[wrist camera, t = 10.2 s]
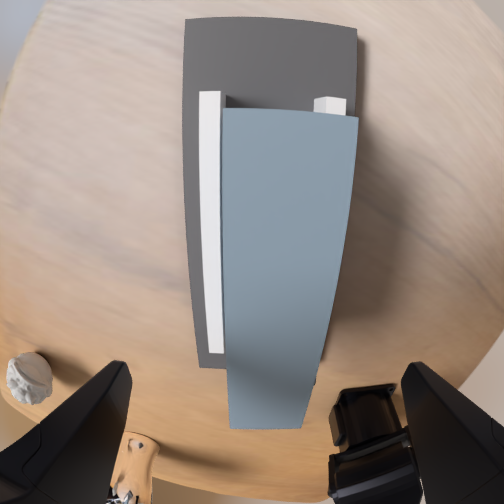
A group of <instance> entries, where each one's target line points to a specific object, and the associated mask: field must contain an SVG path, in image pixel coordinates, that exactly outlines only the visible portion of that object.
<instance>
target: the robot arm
mask: <svg viewBox="0 0 504 504" xmlns="http://www.w3.org/2000/svg"><path fill="white" fill-rule="evenodd" d="M401 388H402V394H403V399H404V405H405V411H406V417H407V422H408V425H407V426H405V427H404V428H402V426H401V423H400V421H399V418H398V415H397V412H396V410H395V407H394V404H393V402H392V399H391V396H392V394H393V392H394V391H395V386H394V384H390V385H383V386H375V387H367V388H357V389H347V390H342V391H341V392H340V394H339V396H338V399H337V401H336V404H335V405H334V406H333V408H332V410H331V413H330V415H329V424H330V428H331V433H332V438H333V443H334V445H335V446H339V449H340V453H337V454H332V455H329V462H328V466H329V486H328V496H329V497H331V498H333V500H334V502H335V504H420V502H421V499H422V496H423V490H424V496H425V501H426V504H504V427H503V426H502V425H501V424H499V423H498V422H497V421H496V420H494V419H493V418H491V417H490V416H489V415H488V414H487V413H486V412H484V411H483V410H482V409H481V408H479V407H478V406H477V405H476V404H474V403H473V402H472V401H471V400H469V399H468V398H467V397H466V396H464V395H463V394H462V393H461V392H459V391H458V390H457V389H456V388H454V387H453V386H452V385H451V384H449V383H448V382H447V381H446V380H444V379H443V378H442V377H441V376H439V375H438V374H437V373H436V372H434V371H433V370H432V369H430V368H429V367H428V366H427V365H425V364H424V363H423V362H420V361H419V362H412V363H410V364H409V365H408V367H407V369H406V371H405V373H404V375H403V377H402V379H401ZM131 389H132V377H131V374H130V372H129V369H128V366H127V364H126V362H124V361H118V360H113V361H111V362H110V363H109V364H108V365H107V366H105V367H104V368H103V369H102V370H101V371H100V372H98V373H97V374H96V375H95V376H94V377H92V378H91V379H90V380H89V381H88V382H87V383H85V384H84V385H83V386H82V387H81V388H79V389H78V390H77V391H76V392H75V393H74V394H72V395H71V396H70V397H69V398H68V399H67V400H65V401H64V402H63V403H62V404H61V405H59V406H58V407H57V408H56V409H55V410H54V411H52V412H51V413H50V414H49V415H48V416H47V417H45V418H44V419H43V420H42V421H41V422H40V424H37V425H36V426H35V427H34V428H32V429H31V430H30V431H29V432H28V433H26V434H25V435H24V436H23V437H21V438H20V439H19V440H17V441H16V442H14V443H13V444H12V445H10V446H9V447H7V448H6V449H4V450H3V451H1V452H0V504H106V501H107V496H108V492H109V488H110V483H111V479H112V475H113V471H114V467H115V463H116V459H117V455H118V451H119V447H120V444H121V440H122V436H123V433H124V429H125V425H126V419H127V413H128V407H129V401H130V395H131ZM408 446H410V447H408ZM420 479H421V481H422V485H423V489H422V486H421V482H420Z"/></svg>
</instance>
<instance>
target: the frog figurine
mask: <svg viewBox="0 0 504 504" xmlns="http://www.w3.org/2000/svg"><path fill="white" fill-rule="evenodd" d="M52 380H53V378H52V371H51V368H50V366H49V364H48V362H47V361H46V360H45V359H44V358H43V357H42V356H40V355H39V354H36V353H32V352H28V353H22V354H20V355H19V356H18V357H14V358H12V359H11V360H10V361H9V364H8V369H7V384H6V385H7V386H8V387H9V388H10V389H11V393H12V396H14V397H15V398H16V399H17V400H19V402H21V403H29V404H31V405H34V404H39V403H41V402H42V401H43V400H44V399H45V398H46V397H49V396H50V395H51V394H52Z"/></svg>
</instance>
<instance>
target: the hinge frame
mask: <svg viewBox="0 0 504 504" xmlns="http://www.w3.org/2000/svg"><path fill="white" fill-rule="evenodd" d="M356 77H357V29H355V28H350V27H345V26H340V25H334V24H327V23H320V22H313V21H305V20H295V19H283V18H267V17H212V18H196V19H185V35H184V57H183V99H182V135H183V179H184V203H185V222H186V238H187V253H188V266H189V278H190V289H191V299H192V309H193V319H194V328H195V336H196V345H197V353H198V360H199V368H216V369H227V364H226V341H225V313H224V278H223V221H222V131H223V108H258V109H281V110H296V111H308V112H319V113H329V114H337V115H345V116H352V117H355V101H356Z"/></svg>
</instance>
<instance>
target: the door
mask: <svg viewBox="0 0 504 504" xmlns="http://www.w3.org/2000/svg"><path fill="white" fill-rule="evenodd" d="M358 121H359V117H352V116H345V115H337V114H329V113H319V112H308V111H296V110H281V109H258V108H223V131H222V221H223V278H224V313H225V341H226V364H227V385H228V404H229V421H230V429H296V428H301V427H302V423H303V420H304V417H305V413H306V410H307V407H308V403H309V400H310V396H311V393H312V389H313V386H314V385H315V383H316V374H317V371H318V367H319V363H320V359H321V355H322V351H323V347H324V343H325V338H326V334H327V330H328V325H329V321H330V316H331V312H332V307H333V302H334V297H335V292H336V287H337V282H338V277H339V271H340V266H341V260H342V254H343V248H344V242H345V236H346V229H347V223H348V216H349V208H350V201H351V193H352V185H353V176H354V167H355V157H356V146H357V134H358Z"/></svg>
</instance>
